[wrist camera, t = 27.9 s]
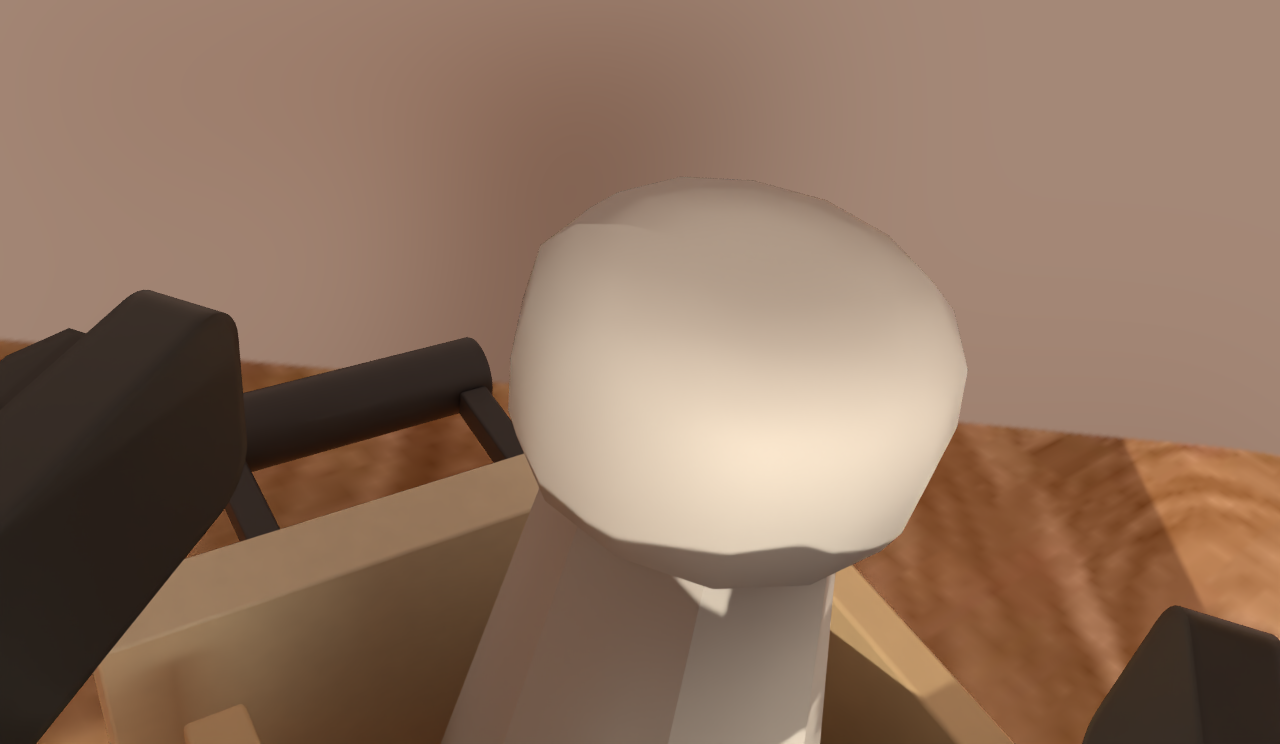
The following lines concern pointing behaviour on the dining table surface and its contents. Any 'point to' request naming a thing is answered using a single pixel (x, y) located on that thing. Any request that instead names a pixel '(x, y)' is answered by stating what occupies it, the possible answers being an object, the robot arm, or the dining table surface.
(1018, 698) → the dining table surface
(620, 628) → the salt shaker
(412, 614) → the drawer
